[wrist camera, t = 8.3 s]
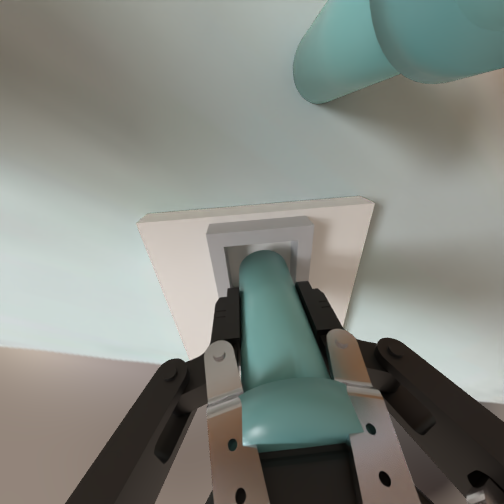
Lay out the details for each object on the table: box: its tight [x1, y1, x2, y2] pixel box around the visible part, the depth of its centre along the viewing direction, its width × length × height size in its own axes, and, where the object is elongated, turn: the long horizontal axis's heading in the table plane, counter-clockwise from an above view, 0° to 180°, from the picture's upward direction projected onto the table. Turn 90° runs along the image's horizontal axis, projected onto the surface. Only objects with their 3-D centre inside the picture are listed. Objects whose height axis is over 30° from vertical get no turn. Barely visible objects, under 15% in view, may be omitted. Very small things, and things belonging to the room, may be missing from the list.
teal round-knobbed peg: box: [293, 0, 504, 104], centre depth 7 cm, size 5×5×10 cm
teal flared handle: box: [230, 250, 372, 453], centre depth 10 cm, size 5×5×10 cm
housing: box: [136, 196, 375, 371], centre depth 18 cm, size 17×17×4 cm
